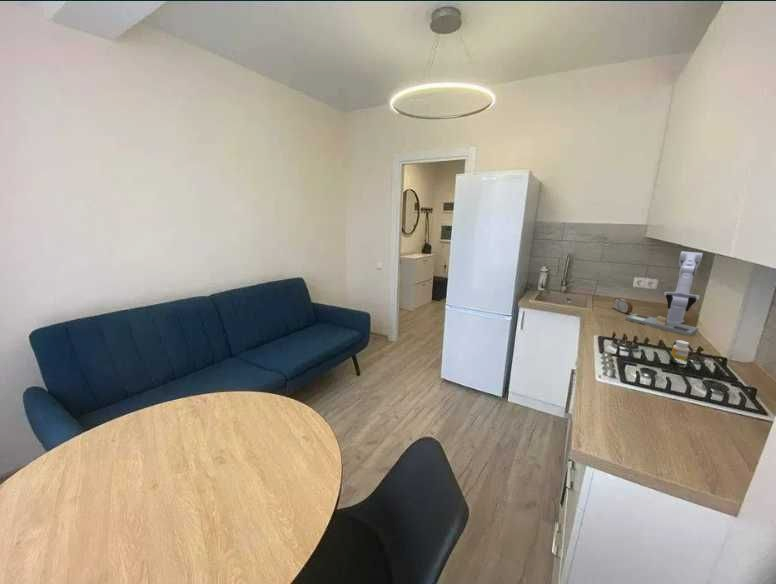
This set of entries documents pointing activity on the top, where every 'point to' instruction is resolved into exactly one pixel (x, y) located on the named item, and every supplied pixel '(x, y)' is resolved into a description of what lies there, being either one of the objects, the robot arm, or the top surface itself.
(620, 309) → the tin
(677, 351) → the supplement bottle
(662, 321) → the block
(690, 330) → the board
